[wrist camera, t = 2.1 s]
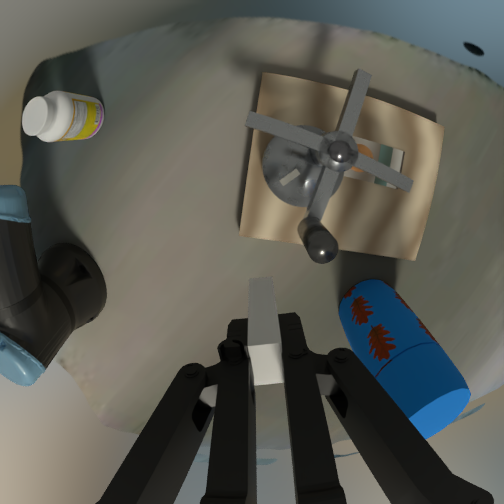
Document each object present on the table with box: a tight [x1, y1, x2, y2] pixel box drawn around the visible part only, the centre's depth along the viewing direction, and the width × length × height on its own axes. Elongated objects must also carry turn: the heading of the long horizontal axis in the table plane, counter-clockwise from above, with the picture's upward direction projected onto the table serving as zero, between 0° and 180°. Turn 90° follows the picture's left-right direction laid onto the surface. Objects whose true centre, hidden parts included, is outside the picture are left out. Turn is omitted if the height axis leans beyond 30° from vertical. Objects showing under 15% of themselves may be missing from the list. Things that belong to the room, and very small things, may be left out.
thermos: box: [339, 279, 471, 439], centre depth 32 cm, size 11×11×25 cm
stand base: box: [239, 72, 444, 261], centre depth 35 cm, size 28×22×2 cm
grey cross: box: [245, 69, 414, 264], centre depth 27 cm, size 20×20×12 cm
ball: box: [351, 144, 373, 172], centre depth 31 cm, size 4×4×4 cm
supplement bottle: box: [22, 91, 104, 142], centre depth 26 cm, size 7×7×13 cm
